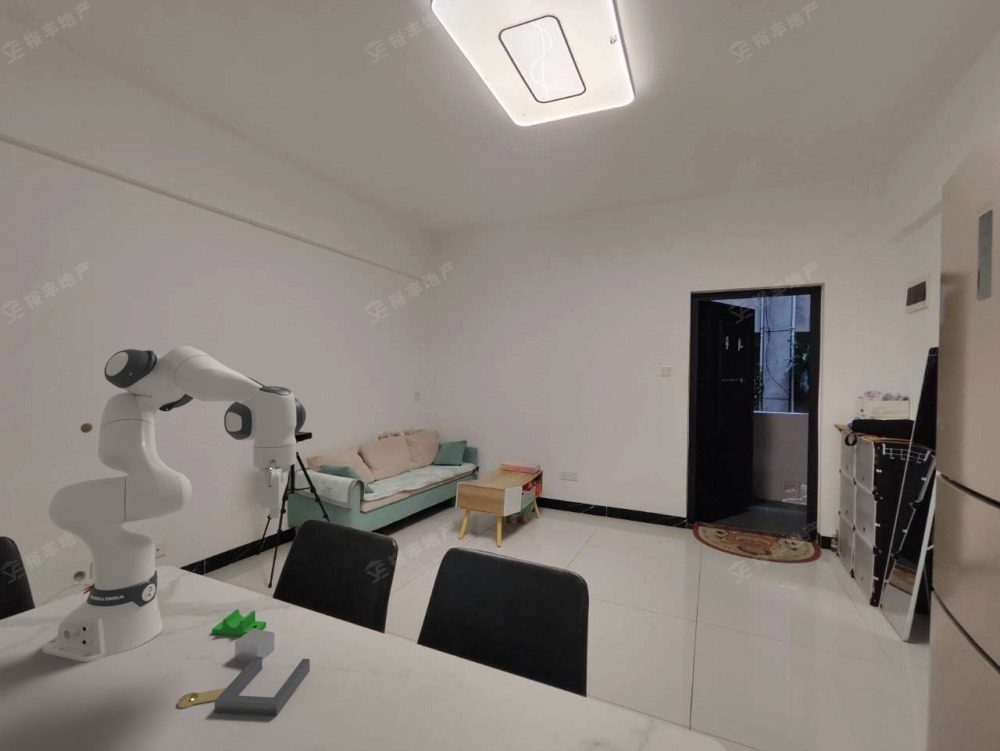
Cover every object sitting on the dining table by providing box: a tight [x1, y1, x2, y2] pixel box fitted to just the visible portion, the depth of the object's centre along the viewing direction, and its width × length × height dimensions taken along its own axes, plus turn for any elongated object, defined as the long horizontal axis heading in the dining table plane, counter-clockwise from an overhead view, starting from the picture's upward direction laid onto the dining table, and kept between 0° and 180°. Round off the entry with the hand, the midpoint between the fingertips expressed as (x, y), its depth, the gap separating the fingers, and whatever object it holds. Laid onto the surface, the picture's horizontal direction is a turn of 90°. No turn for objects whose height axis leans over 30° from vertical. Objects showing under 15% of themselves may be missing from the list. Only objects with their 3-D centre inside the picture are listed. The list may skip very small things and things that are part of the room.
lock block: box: [234, 629, 275, 664], centre depth 98 cm, size 6×5×4 cm
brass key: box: [177, 687, 227, 709], centre depth 84 cm, size 8×3×1 cm, turn 107°
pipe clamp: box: [211, 608, 267, 637], centre depth 107 cm, size 11×4×5 cm
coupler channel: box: [214, 657, 311, 717], centre depth 87 cm, size 12×12×3 cm
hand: (274, 516), depth 100 cm, fingers closed
